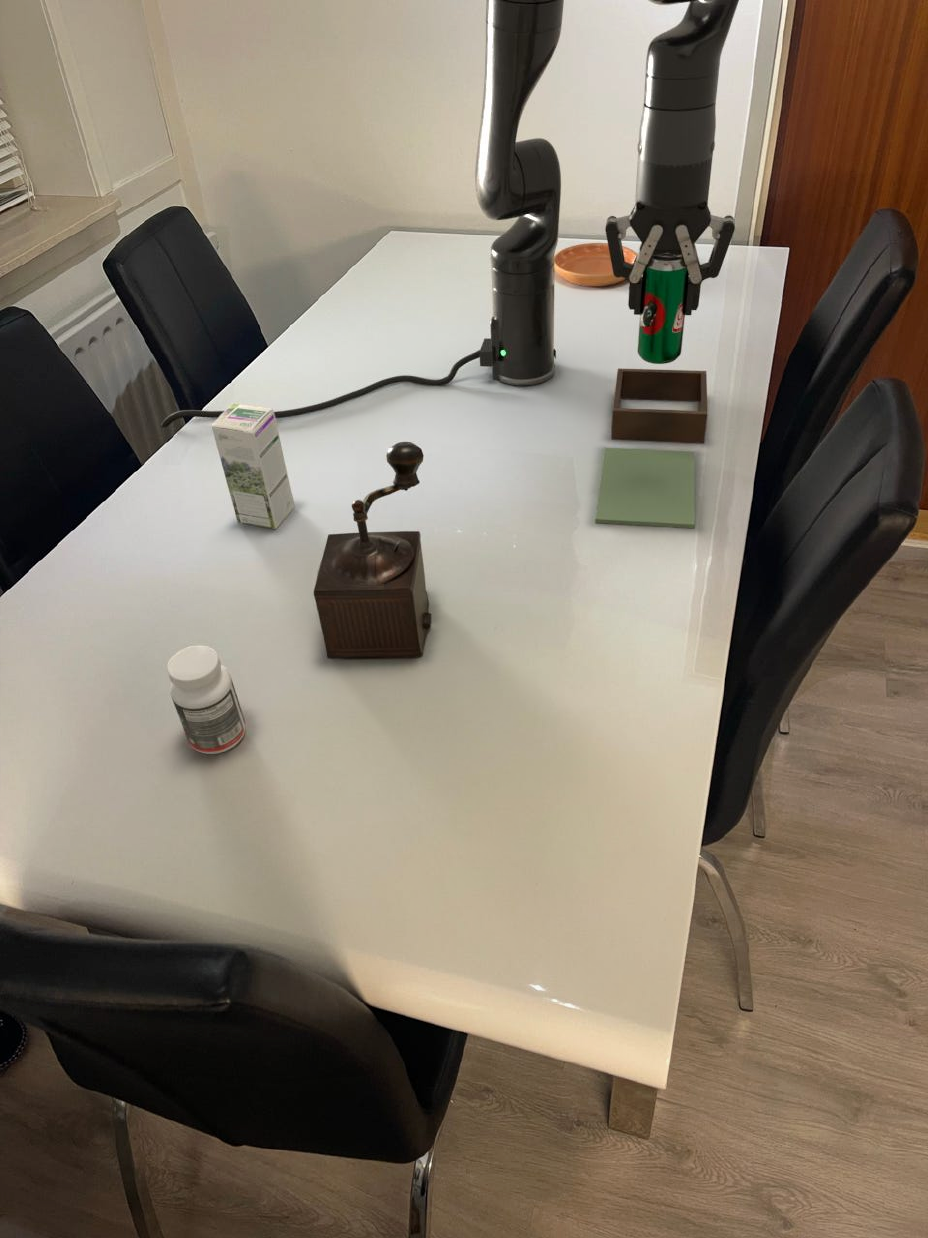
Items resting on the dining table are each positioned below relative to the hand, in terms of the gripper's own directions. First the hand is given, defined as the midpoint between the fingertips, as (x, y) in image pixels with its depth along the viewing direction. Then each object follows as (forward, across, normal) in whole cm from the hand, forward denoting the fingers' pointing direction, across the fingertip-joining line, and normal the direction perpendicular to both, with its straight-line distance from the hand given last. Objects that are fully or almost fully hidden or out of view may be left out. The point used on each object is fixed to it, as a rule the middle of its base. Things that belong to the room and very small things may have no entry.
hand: (662, 311), depth 107 cm
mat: (+23, 0, +1) cm, 23 cm away
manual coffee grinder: (+23, +28, +29) cm, 47 cm away
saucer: (+23, +12, -71) cm, 75 cm away
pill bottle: (+23, +40, +49) cm, 68 cm away
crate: (+23, -1, -17) cm, 28 cm away
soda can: (+6, 0, 0) cm, 6 cm away
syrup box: (+23, +48, +12) cm, 55 cm away
